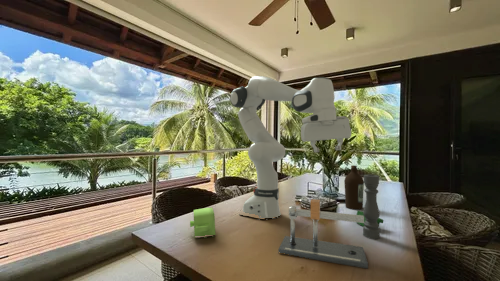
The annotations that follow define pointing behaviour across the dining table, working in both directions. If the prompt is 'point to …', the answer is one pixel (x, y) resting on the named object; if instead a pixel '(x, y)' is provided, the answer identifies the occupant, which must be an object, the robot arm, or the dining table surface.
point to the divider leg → (315, 219)
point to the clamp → (365, 219)
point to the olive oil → (354, 190)
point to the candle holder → (371, 207)
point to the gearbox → (203, 222)
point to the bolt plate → (325, 251)
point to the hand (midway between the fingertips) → (327, 151)
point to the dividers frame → (324, 215)
